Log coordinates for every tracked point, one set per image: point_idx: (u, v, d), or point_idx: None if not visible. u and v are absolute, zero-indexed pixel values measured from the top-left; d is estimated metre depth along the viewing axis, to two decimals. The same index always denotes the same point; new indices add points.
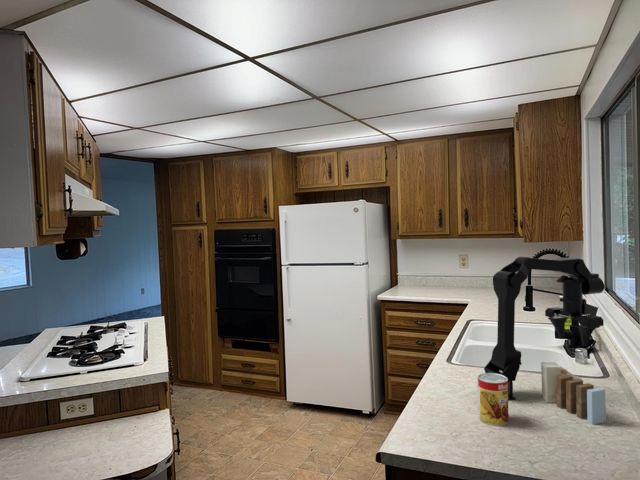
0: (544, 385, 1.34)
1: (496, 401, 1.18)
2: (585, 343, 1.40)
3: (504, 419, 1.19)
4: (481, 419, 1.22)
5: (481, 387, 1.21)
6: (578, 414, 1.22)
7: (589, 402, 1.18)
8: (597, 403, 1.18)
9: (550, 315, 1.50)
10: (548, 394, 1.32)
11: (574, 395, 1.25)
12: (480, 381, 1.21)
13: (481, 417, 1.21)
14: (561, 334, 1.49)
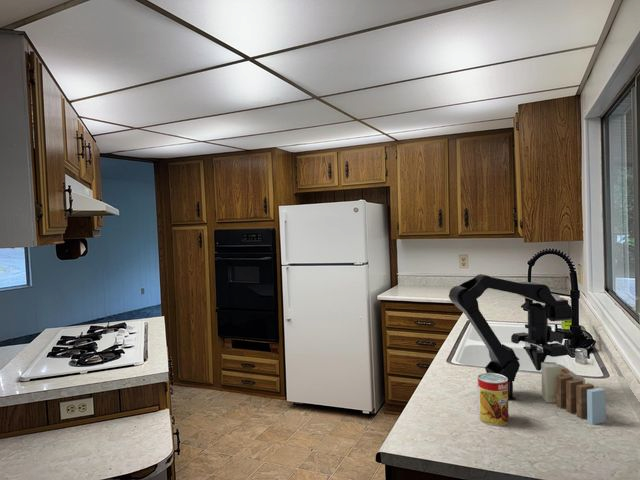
0: (544, 385, 1.34)
1: (496, 401, 1.18)
2: (539, 368, 1.39)
3: (504, 419, 1.19)
4: (481, 419, 1.22)
5: (481, 387, 1.21)
6: (578, 414, 1.22)
7: (589, 402, 1.18)
8: (597, 403, 1.18)
9: (516, 341, 1.44)
10: (548, 394, 1.32)
11: (574, 395, 1.25)
12: (480, 381, 1.21)
13: (481, 417, 1.21)
14: None
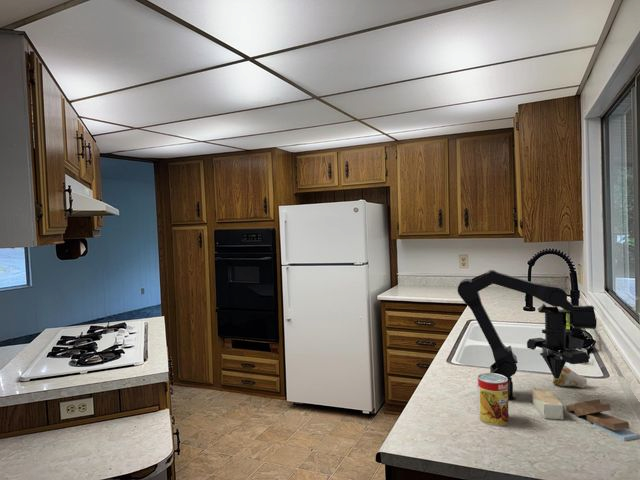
0: None
1: (496, 401, 1.18)
2: (557, 375, 1.31)
3: (504, 419, 1.19)
4: (481, 419, 1.22)
5: (481, 387, 1.21)
6: (589, 417, 1.18)
7: (612, 434, 1.11)
8: None
9: (532, 347, 1.37)
10: None
11: (591, 413, 1.18)
12: (480, 381, 1.21)
13: (481, 417, 1.21)
14: None
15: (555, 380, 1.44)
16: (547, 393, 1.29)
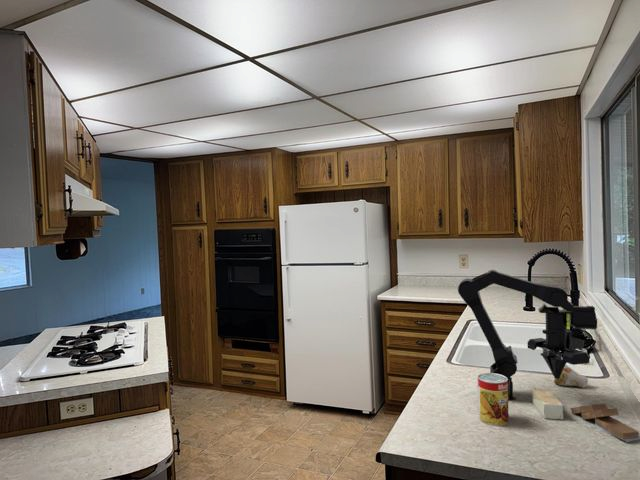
0: None
1: (496, 401, 1.18)
2: (558, 376, 1.31)
3: (504, 419, 1.19)
4: (481, 419, 1.22)
5: (481, 387, 1.21)
6: (597, 421, 1.15)
7: (615, 436, 1.11)
8: None
9: (532, 347, 1.37)
10: None
11: None
12: (480, 381, 1.21)
13: (481, 417, 1.21)
14: None
15: (556, 379, 1.44)
16: (547, 393, 1.29)
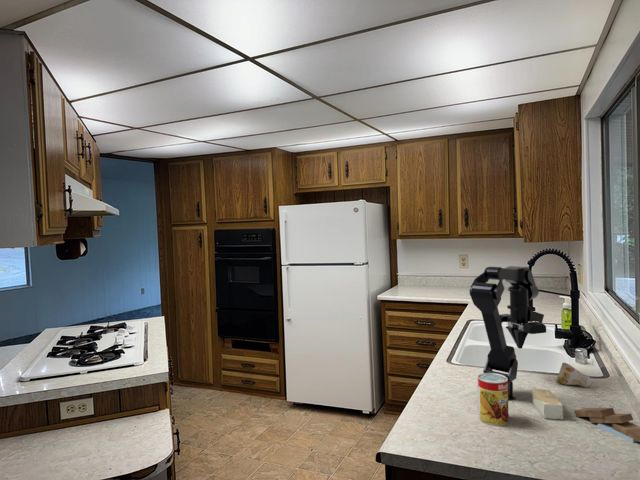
0: None
1: (496, 401, 1.18)
2: (520, 346, 1.48)
3: (504, 419, 1.19)
4: (481, 419, 1.22)
5: (481, 387, 1.21)
6: (615, 426, 1.12)
7: (620, 436, 1.10)
8: None
9: None
10: None
11: None
12: (480, 381, 1.21)
13: (481, 417, 1.21)
14: None
15: (558, 378, 1.45)
16: (547, 393, 1.29)
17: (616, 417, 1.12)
